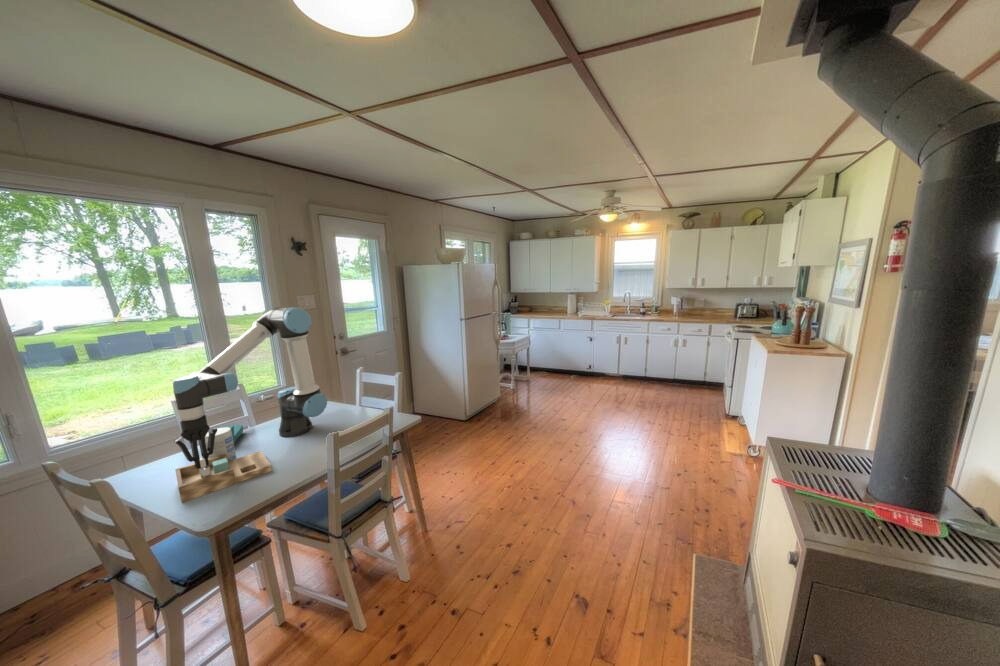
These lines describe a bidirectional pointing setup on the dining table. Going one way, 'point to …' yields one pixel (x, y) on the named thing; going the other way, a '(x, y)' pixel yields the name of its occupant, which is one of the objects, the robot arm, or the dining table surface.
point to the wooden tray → (219, 475)
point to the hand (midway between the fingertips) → (203, 474)
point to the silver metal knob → (205, 472)
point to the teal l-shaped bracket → (235, 431)
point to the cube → (220, 465)
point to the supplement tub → (222, 444)
